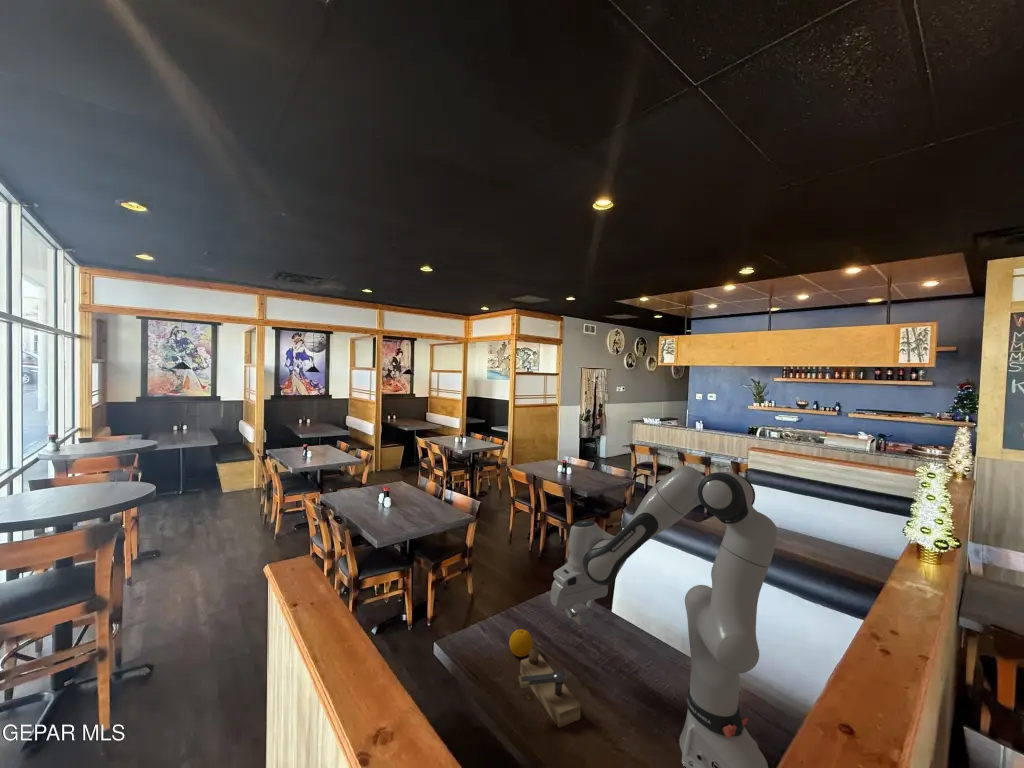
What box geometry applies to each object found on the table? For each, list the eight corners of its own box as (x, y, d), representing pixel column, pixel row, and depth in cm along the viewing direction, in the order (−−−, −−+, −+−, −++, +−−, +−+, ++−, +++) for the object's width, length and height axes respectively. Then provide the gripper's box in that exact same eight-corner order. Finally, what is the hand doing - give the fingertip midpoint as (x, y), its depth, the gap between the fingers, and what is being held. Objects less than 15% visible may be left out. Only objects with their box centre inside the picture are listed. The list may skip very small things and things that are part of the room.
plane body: (580, 718, 114) (581, 691, 113) (558, 728, 110) (560, 700, 110) (539, 666, 133) (540, 643, 133) (520, 672, 130) (521, 648, 130)
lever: (562, 674, 119) (563, 669, 119) (566, 683, 116) (567, 678, 116) (518, 679, 116) (518, 674, 116) (521, 689, 113) (521, 683, 113)
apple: (505, 657, 136) (506, 635, 136) (512, 642, 144) (513, 621, 144) (529, 663, 134) (530, 641, 134) (534, 648, 142) (535, 627, 141)
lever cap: (593, 622, 128) (593, 612, 128) (580, 625, 126) (580, 616, 126) (577, 608, 135) (578, 599, 135) (565, 611, 133) (565, 602, 133)
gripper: (600, 561, 138) (598, 602, 138) (549, 573, 128) (546, 616, 129) (613, 570, 132) (611, 612, 132) (560, 582, 123) (558, 628, 123)
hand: (579, 614), depth 131 cm, fingers closed on lever cap, 5 cm apart
